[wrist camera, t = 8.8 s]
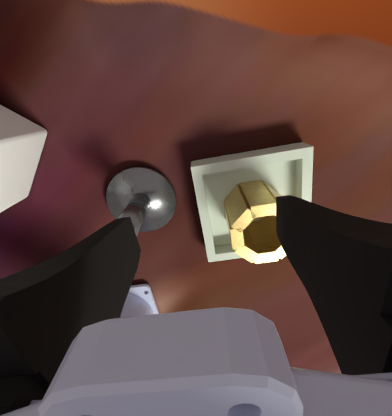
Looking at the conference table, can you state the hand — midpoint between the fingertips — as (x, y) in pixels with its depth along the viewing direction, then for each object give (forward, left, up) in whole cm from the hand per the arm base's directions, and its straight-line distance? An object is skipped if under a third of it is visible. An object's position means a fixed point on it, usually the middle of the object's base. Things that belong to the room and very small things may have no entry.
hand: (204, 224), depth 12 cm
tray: (-4, -4, -10) cm, 12 cm away
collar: (-4, -4, -10) cm, 11 cm away
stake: (-2, +6, -10) cm, 12 cm away
